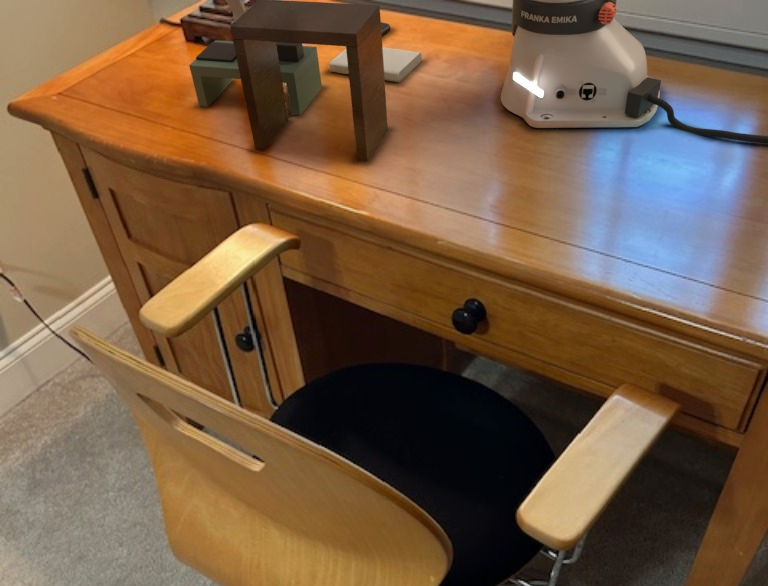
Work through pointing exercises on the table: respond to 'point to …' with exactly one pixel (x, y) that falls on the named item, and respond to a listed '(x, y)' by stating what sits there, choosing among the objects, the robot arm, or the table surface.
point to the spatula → (227, 53)
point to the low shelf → (219, 75)
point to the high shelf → (321, 27)
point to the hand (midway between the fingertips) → (256, 9)
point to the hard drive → (393, 59)
